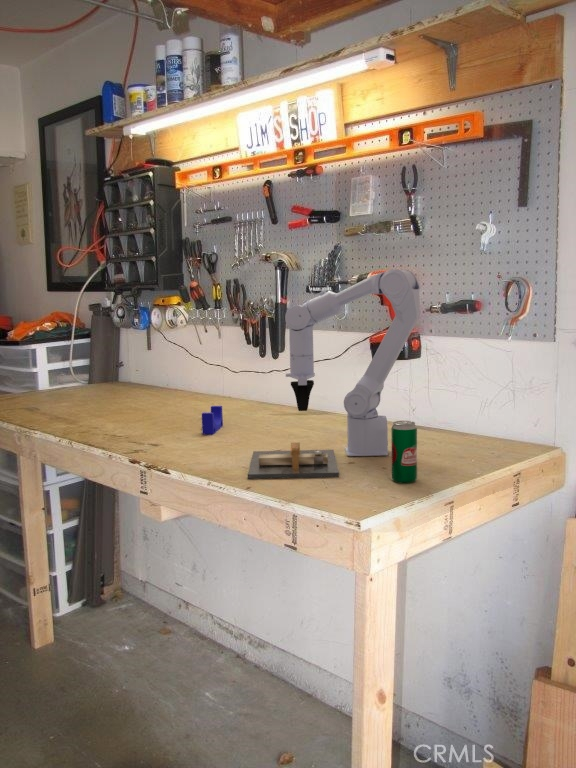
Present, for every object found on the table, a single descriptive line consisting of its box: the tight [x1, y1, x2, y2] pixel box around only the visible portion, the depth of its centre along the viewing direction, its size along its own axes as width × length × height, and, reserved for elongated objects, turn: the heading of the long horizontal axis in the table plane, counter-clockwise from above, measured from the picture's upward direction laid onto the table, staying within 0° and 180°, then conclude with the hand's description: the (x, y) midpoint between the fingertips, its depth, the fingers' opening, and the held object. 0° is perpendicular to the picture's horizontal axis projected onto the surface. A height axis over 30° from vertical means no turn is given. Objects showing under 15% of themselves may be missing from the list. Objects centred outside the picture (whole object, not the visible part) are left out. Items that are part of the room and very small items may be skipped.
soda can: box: [391, 420, 418, 484], centre depth 138 cm, size 5×5×12 cm
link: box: [259, 453, 328, 465], centre depth 150 cm, size 15×4×2 cm, turn 89°
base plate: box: [247, 442, 340, 480], centre depth 152 cm, size 19×20×6 cm
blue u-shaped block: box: [201, 405, 224, 436], centre depth 193 cm, size 12×4×6 cm, turn 173°
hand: (302, 410), depth 167 cm, fingers closed
